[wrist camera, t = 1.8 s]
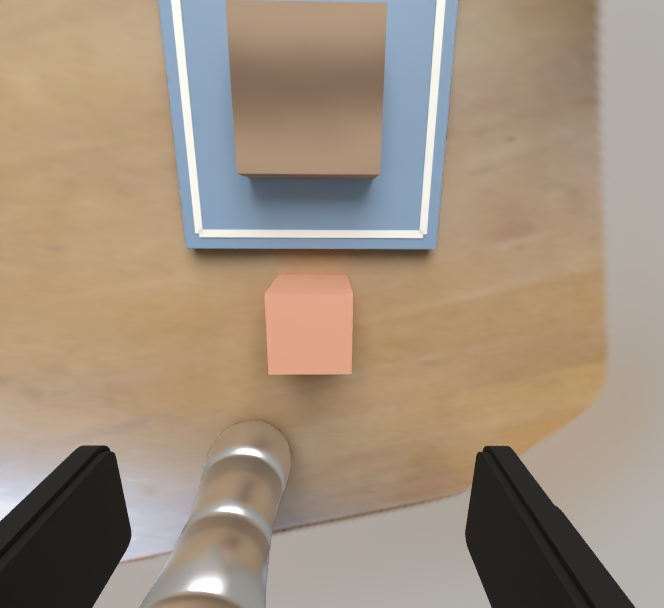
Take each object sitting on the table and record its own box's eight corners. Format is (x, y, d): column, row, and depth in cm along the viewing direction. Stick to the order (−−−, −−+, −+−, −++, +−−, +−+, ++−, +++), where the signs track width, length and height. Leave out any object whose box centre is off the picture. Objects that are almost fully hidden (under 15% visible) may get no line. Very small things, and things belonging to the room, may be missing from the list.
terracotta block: (345, 337, 26) (351, 374, 20) (281, 337, 26) (268, 374, 20) (346, 274, 25) (353, 294, 19) (278, 273, 25) (264, 294, 19)
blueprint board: (430, 247, 24) (436, 249, 23) (193, 246, 24) (185, 248, 23) (455, -48, 20) (464, -65, 18) (161, -53, 19) (149, -71, 18)
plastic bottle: (200, 446, 29) (-59, 937, 9) (251, 393, 27) (71, 836, 8) (259, 487, 30) (138, 993, 11) (310, 439, 29) (278, 916, 9)
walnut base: (372, 178, 22) (380, 174, 19) (248, 178, 22) (236, 173, 19) (378, 32, 20) (387, 2, 17) (240, 30, 20) (225, 0, 17)
